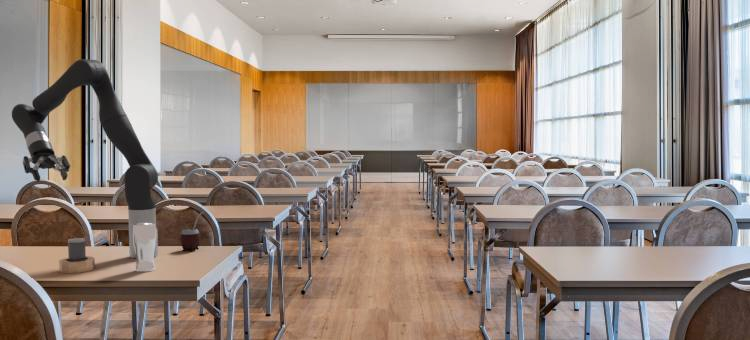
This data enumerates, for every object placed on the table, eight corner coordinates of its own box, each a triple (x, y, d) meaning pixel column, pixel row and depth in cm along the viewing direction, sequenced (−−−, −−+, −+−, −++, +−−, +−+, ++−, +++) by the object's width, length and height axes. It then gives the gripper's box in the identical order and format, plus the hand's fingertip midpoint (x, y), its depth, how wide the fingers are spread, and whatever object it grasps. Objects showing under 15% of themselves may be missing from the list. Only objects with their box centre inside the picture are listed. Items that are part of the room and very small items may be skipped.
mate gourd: (178, 250, 235) (177, 211, 235) (198, 247, 240) (197, 209, 239) (185, 252, 229) (184, 212, 229) (205, 250, 234) (204, 211, 233)
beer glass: (134, 273, 194) (132, 225, 193) (133, 269, 200) (132, 223, 199) (157, 271, 197) (156, 224, 196) (156, 267, 203) (154, 221, 202)
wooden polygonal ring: (97, 266, 206) (97, 255, 206) (89, 272, 196) (89, 261, 196) (65, 267, 204) (65, 257, 204) (55, 273, 194) (55, 262, 194)
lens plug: (87, 268, 203) (87, 237, 203) (83, 270, 198) (82, 239, 198) (71, 268, 202) (70, 238, 202) (66, 271, 197) (65, 240, 197)
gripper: (19, 139, 215) (32, 172, 208) (63, 139, 226) (76, 171, 218) (15, 154, 219) (27, 187, 212) (58, 153, 230) (71, 185, 222)
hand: (52, 179), depth 215 cm, fingers open, 8 cm apart
